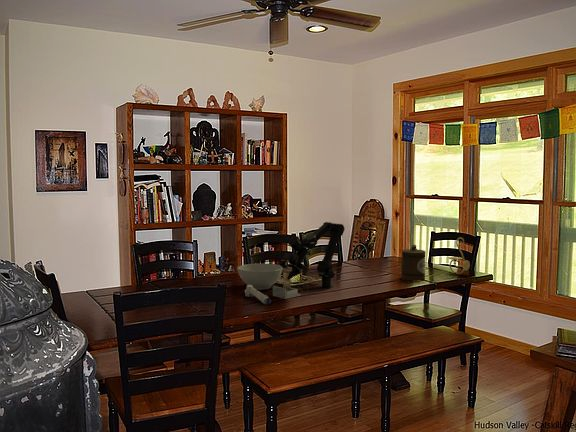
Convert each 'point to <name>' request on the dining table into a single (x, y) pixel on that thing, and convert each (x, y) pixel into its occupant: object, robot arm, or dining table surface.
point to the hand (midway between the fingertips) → (285, 278)
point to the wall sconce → (465, 263)
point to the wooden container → (413, 264)
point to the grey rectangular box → (285, 292)
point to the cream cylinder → (285, 281)
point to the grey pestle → (257, 294)
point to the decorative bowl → (260, 275)
